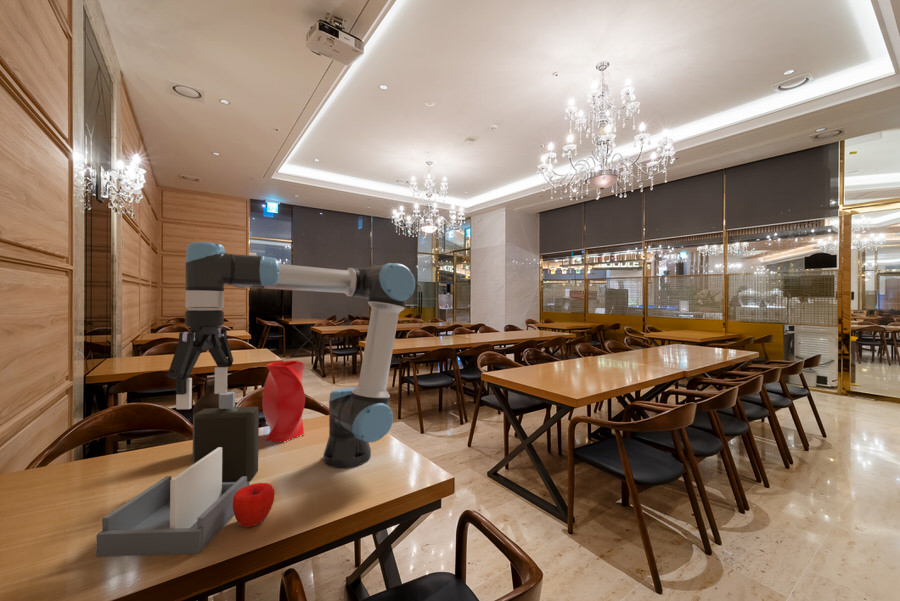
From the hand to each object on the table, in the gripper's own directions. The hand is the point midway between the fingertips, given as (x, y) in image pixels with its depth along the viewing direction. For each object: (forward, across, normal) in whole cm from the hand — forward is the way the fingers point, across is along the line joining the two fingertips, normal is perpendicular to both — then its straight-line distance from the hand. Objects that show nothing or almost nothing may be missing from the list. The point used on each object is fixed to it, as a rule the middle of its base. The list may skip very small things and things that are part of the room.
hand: (203, 400), depth 85 cm
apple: (+29, 0, +12) cm, 31 cm away
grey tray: (+29, 0, -4) cm, 29 cm away
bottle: (+29, -22, -7) cm, 37 cm away
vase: (+29, -57, -3) cm, 64 cm away
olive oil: (+29, -41, -22) cm, 55 cm away
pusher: (+27, 0, -3) cm, 28 cm away
